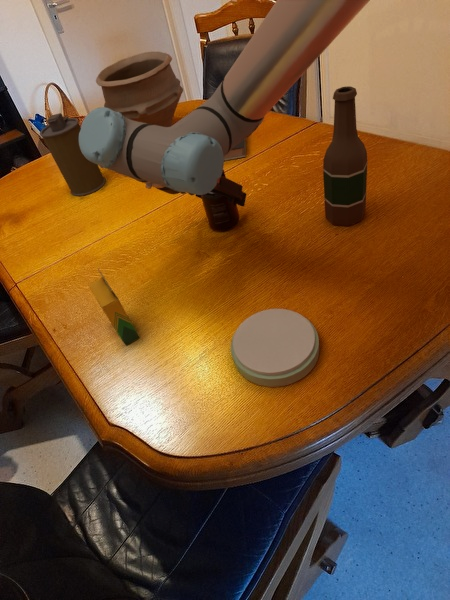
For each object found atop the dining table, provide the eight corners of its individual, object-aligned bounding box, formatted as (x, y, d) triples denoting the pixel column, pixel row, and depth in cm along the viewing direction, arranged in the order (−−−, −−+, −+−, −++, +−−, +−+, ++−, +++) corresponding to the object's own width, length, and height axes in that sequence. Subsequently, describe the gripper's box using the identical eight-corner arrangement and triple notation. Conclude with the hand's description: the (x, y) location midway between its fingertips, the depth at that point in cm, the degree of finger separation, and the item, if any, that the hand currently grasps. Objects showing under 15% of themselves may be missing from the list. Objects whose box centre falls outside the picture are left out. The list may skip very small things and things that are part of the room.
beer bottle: (317, 219, 82) (309, 96, 66) (341, 201, 85) (339, 78, 68) (349, 232, 77) (350, 101, 61) (373, 211, 80) (380, 82, 63)
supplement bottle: (246, 217, 88) (235, 166, 80) (228, 235, 85) (216, 183, 76) (220, 212, 92) (208, 162, 83) (203, 229, 88) (188, 179, 80)
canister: (101, 192, 112) (67, 119, 98) (66, 199, 113) (28, 128, 100) (109, 173, 120) (78, 103, 106) (76, 180, 121) (42, 112, 107)
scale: (325, 322, 63) (325, 310, 61) (311, 394, 55) (309, 382, 53) (246, 314, 68) (243, 302, 66) (222, 379, 59) (217, 368, 57)
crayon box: (111, 323, 73) (82, 275, 65) (125, 314, 74) (98, 266, 66) (125, 347, 68) (95, 299, 60) (140, 338, 69) (113, 289, 61)
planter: (204, 118, 135) (187, 43, 119) (178, 153, 119) (153, 72, 104) (140, 124, 143) (116, 55, 128) (107, 158, 128) (75, 84, 113)
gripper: (116, 185, 72) (188, 211, 92) (209, 194, 63) (266, 220, 83) (123, 142, 72) (194, 178, 92) (218, 145, 62) (273, 184, 82)
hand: (228, 198), depth 87 cm, fingers closed on supplement bottle, 7 cm apart
